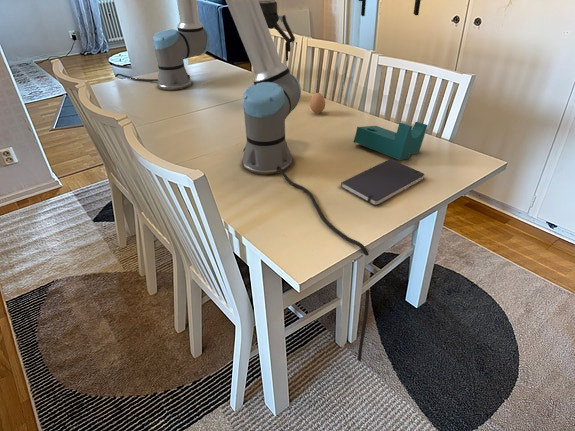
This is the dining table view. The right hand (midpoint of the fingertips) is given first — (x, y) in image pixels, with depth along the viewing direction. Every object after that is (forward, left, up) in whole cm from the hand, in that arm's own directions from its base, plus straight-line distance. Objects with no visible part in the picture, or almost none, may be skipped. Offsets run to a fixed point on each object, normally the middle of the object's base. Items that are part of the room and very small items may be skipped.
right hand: (389, 15), depth 105 cm
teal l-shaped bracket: (+4, -6, -41) cm, 41 cm away
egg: (+39, +9, -41) cm, 57 cm away
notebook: (-17, +3, -41) cm, 44 cm away
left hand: (+58, +24, -25) cm, 68 cm away
